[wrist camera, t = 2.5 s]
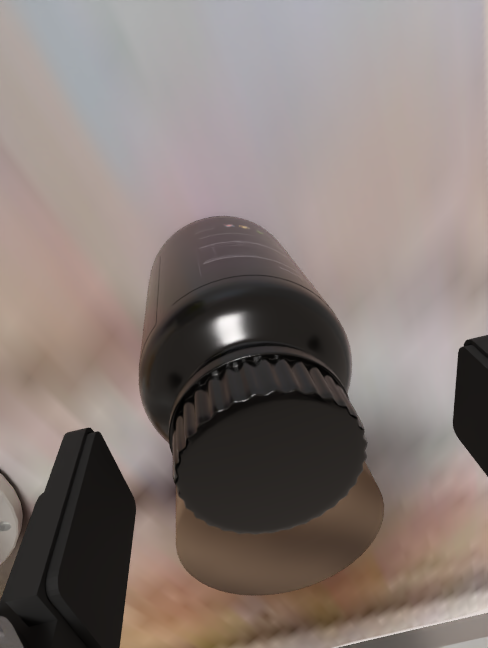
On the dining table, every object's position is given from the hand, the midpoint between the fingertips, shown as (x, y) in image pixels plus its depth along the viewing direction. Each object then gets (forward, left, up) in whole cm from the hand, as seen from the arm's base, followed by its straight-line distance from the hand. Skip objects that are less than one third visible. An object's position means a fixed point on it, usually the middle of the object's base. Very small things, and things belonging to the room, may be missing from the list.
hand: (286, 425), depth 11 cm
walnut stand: (-10, -11, -11) cm, 18 cm away
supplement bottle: (-1, 0, -11) cm, 11 cm away
